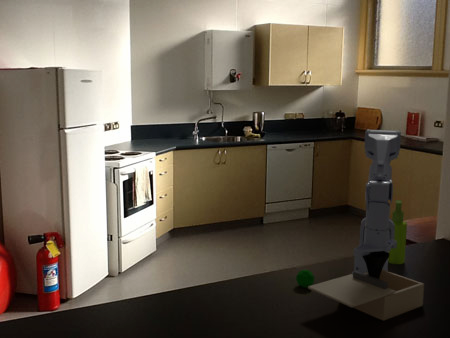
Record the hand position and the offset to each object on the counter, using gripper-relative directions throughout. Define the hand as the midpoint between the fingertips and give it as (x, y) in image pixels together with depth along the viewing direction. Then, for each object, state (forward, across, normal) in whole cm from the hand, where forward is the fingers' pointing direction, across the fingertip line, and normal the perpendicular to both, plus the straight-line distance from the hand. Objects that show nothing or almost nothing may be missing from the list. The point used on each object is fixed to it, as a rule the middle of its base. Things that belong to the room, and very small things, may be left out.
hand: (373, 279), depth 137 cm
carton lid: (+1, -8, 0) cm, 9 cm away
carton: (+7, +4, 0) cm, 8 cm away
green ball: (+8, -4, +20) cm, 22 cm away
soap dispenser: (+8, +36, +20) cm, 42 cm away
